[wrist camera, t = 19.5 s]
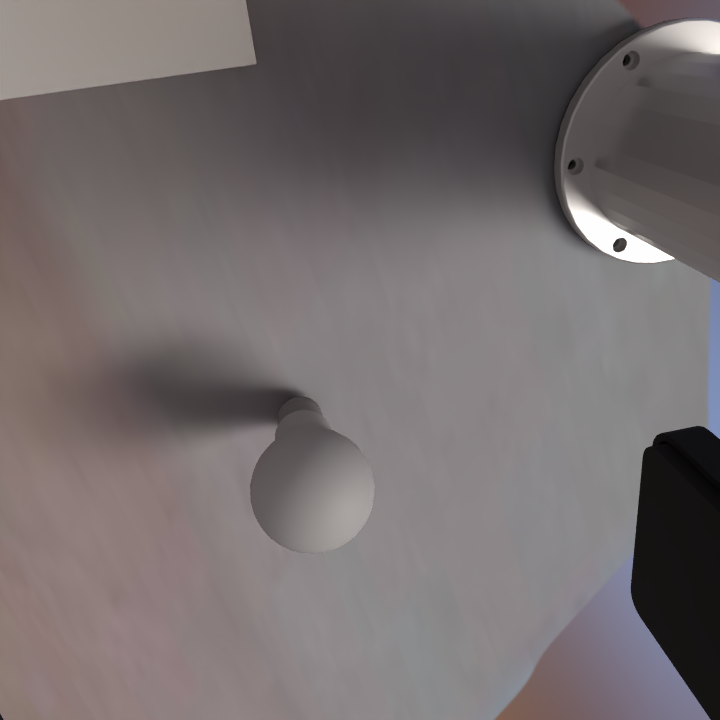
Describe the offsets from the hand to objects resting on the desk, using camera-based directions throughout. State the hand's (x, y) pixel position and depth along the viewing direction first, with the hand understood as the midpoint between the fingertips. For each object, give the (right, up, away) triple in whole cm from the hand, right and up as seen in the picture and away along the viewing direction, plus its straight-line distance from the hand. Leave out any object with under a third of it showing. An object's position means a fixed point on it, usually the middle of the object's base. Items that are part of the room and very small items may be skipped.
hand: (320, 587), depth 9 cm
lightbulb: (-3, 0, +32) cm, 32 cm away
